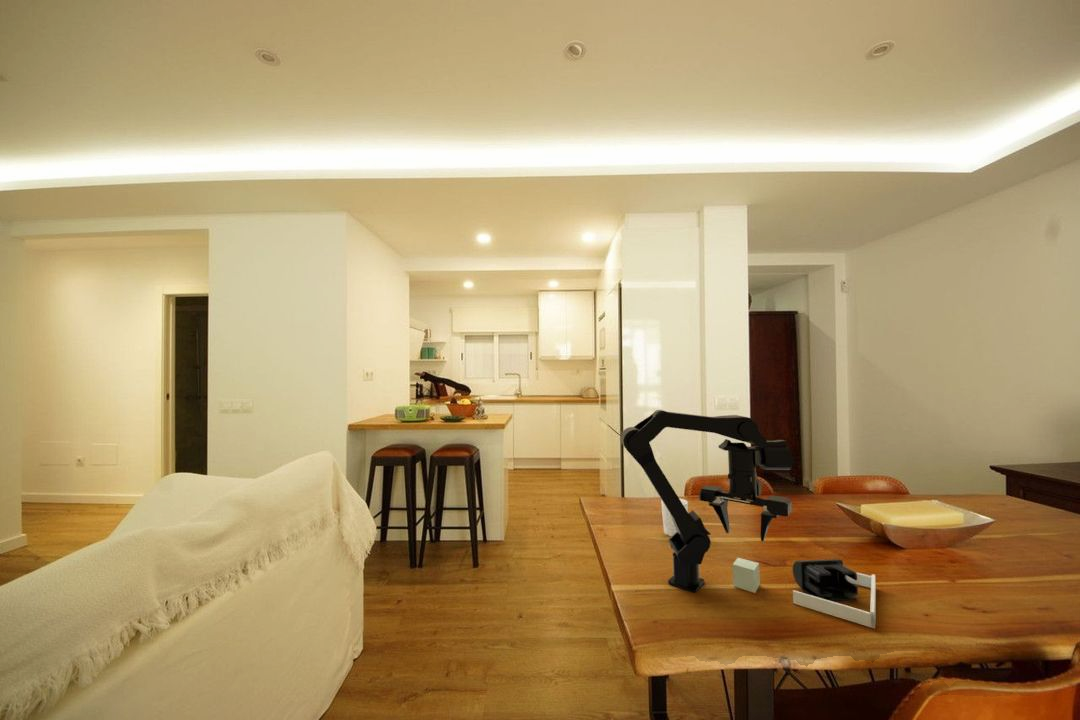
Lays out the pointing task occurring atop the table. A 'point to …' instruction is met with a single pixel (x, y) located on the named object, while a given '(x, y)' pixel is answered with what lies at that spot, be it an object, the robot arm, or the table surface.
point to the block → (746, 575)
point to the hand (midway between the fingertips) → (744, 536)
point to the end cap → (826, 579)
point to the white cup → (670, 518)
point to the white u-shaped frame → (841, 609)
